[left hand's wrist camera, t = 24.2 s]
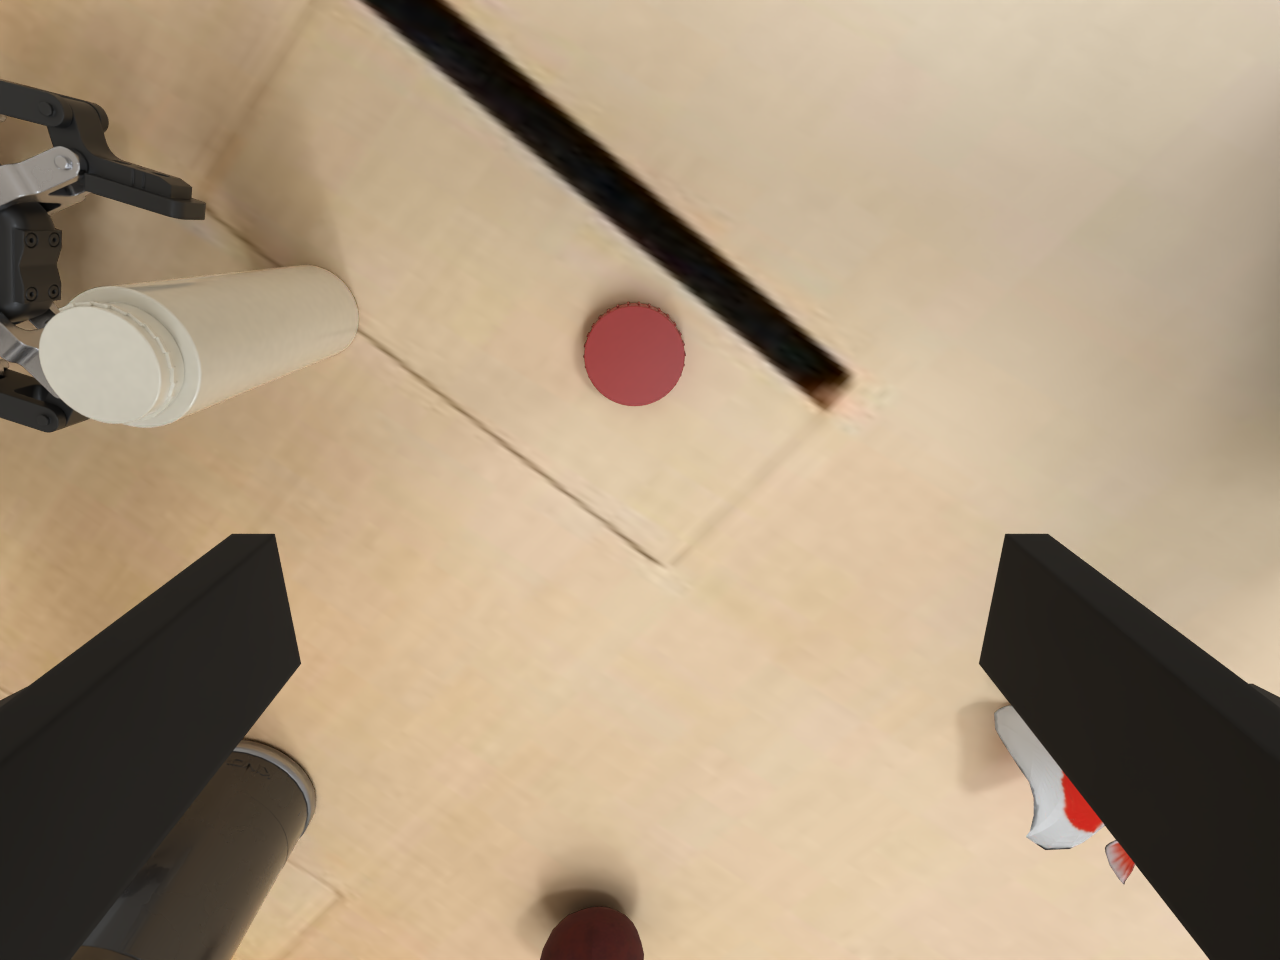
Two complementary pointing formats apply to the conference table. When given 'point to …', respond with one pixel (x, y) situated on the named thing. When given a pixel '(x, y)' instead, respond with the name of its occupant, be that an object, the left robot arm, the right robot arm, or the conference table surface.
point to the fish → (1054, 795)
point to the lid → (634, 354)
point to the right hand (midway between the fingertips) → (187, 309)
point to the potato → (594, 937)
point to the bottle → (192, 340)
